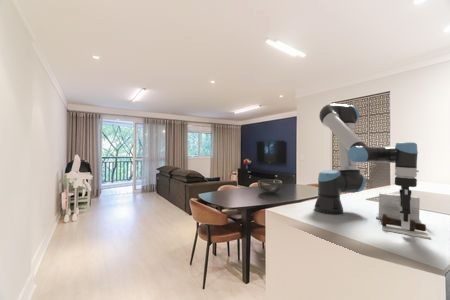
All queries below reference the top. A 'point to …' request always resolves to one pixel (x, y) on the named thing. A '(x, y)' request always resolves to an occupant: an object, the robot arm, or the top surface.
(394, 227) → the mat
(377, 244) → the top surface
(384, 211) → the block
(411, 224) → the bolt
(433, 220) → the top surface
